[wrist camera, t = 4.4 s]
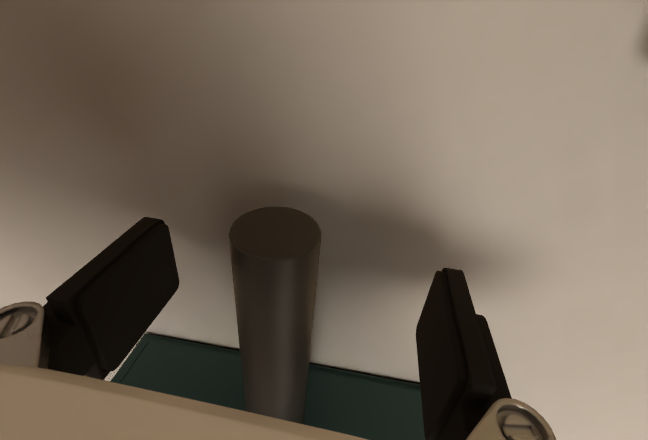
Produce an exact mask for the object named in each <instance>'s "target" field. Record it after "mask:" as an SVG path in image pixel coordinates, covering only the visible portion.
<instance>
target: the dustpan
mask: <svg viewBox="0 0 648 440" xmlns="http://www.w3.org/2000/svg"><path fill="white" fill-rule="evenodd" d="M229 239H230V250H231V261H232V271H233V282H234V292H235V303H236V314H237V324H238V335H239V345H240V351H237V350H231V349H226V348H220V347H215V346H210V345H204V344H199V343H193V342H188V341H183V340H177V339H172V338H167V337H161V336H156V335H150V334H145V335H144V336H143V337H142V339H141V340H140V342H139V343H138V344H137V346H136V347H135V349H134V350H133V351H132V353H131V354H130V355H129V357H128V358H127V360H126V361H125V362H124V364H123V365H122V366H121V368H120V369H119V371H118V372H117V373H116V375H115V376H114V377H113V379H112V380H111V382H114V383H119V384H123V385H128V386H132V387H137V388H142V389H146V390H151V391H156V392H160V393H165V394H169V395H174V396H178V397H183V398H188V399H192V400H197V401H201V402H206V403H210V404H215V405H219V406H224V407H228V408H233V409H237V410H242V411H246V412H251V413H255V414H260V415H264V416H269V417H273V418H277V419H282V420H286V421H290V422H295V423H299V424H304V425H308V426H312V427H317V428H321V429H326V430H330V431H334V432H339V433H343V434H348V435H352V436H356V437H360V438H364V439H368V440H426V439H425V435H424V424H423V413H422V401H421V389H420V385H419V384H414V383H409V382H403V381H398V380H392V379H387V378H382V377H376V376H371V375H366V374H360V373H355V372H349V371H344V370H339V369H333V368H328V367H323V366H317V365H312V364H309V357H310V347H311V337H312V326H313V316H314V305H315V295H316V284H317V274H318V263H319V253H320V242H321V231H320V228H319V226H318V224H317V222H316V221H315V220H314V219H313V218H312V217H310V216H309V215H307V214H305V213H303V212H301V211H298V210H295V209H291V208H285V207H266V208H260V209H256V210H253V211H250V212H248V213H245V214H244V215H242V216H240V217H239V218H238V219H237V220H236V221H235V222H234V223H233V225H232V226H231V229H230V232H229Z"/></svg>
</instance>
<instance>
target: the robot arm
mask: <svg viewBox="0 0 648 440" xmlns="http://www.w3.org/2000/svg"><path fill="white" fill-rule="evenodd" d="M178 286H179V277H178V272H177V267H176V262H175V257H174V252H173V247H172V242H171V237H170V232H169V228H168V226H167V225H166V224H165V223H164V221H163V220H161V219H155V218H149V217H144V218H142V219H141V220H140V221H138V222H137V223H136V224H135V225H134V226H132V227H131V228H130V229H129V230H127V231H126V232H125V233H124V234H123V235H121V236H120V237H119V238H118V239H117V240H115V241H114V242H113V243H112V244H110V245H109V246H108V247H107V248H106V249H104V250H103V251H102V252H101V253H100V254H98V255H97V256H96V257H95V258H93V259H92V260H91V261H90V262H89V263H87V264H86V265H85V266H84V267H83V268H81V269H80V270H79V271H78V272H76V273H75V274H74V275H73V276H72V277H70V278H69V279H68V280H67V281H66V282H64V283H63V284H62V285H61V286H59V287H58V288H57V289H56V290H55V291H53V292H52V293H51V294H50V295H49V296H47V297H46V299H47V301H48V303H47V304H45V305H44V306H43V307H42V306H41V305H40V304H39V303H35V302H20V303H14V304H11V305H8V306H5V307H3V308H1V309H0V440H368V439H364V438H360V437H356V436H352V435H348V434H343V433H339V432H334V431H330V430H326V429H321V428H317V427H312V426H308V425H304V424H299V423H295V422H290V421H286V420H282V419H277V418H273V417H269V416H264V415H260V414H255V413H251V412H246V411H242V410H237V409H233V408H228V407H224V406H219V405H215V404H210V403H206V402H201V401H197V400H192V399H188V398H183V397H178V396H174V395H169V394H165V393H160V392H156V391H151V390H146V389H142V388H137V387H132V386H128V385H123V384H119V383H114V382H109V381H105V380H104V379H105V377H106V376H107V375H108V373H109V372H110V371H114V370H115V369H116V368H117V367H118V366H119V365H120V363H121V362H122V361H123V360H124V358H125V357H126V356H127V354H128V353H129V352H130V350H131V349H132V348H133V347H134V345H135V344H136V343H137V341H138V340H139V339H140V338H141V336H142V335H143V334H144V332H145V331H146V330H147V328H148V327H149V326H150V325H151V323H152V322H153V321H154V319H155V318H156V317H157V315H158V314H159V313H160V312H161V310H162V309H163V308H164V306H165V305H166V304H167V302H168V301H169V300H170V299H171V297H172V296H173V295H174V293H175V292H176V291H177V289H178ZM416 342H417V354H418V366H419V377H420V389H421V401H422V413H423V424H424V435H425V439H426V440H556V438H555V435H554V433H553V431H552V429H551V427H550V426H549V424H548V423H547V422H546V420H545V419H544V418H543V417H542V416H541V415H540V414H539V413H538V412H537V411H536V410H535V409H533V408H532V407H530V406H529V405H527V404H525V403H523V402H521V401H518V400H516V399H512V398H511V395H510V392H509V389H508V386H507V383H506V380H505V376H504V373H503V370H502V367H501V364H500V361H499V358H498V355H497V351H496V348H495V345H494V342H493V339H492V336H491V333H490V330H489V327H488V323H487V321H486V319H485V317H484V316H482V315H477V314H476V313H475V310H474V307H473V303H472V300H471V296H470V293H469V289H468V286H467V283H466V279H465V276H464V273H463V271H462V270H456V269H450V268H443V269H442V271H437V272H436V273H435V276H434V279H433V282H432V284H431V287H430V290H429V293H428V296H427V299H426V302H425V304H424V307H423V310H422V313H421V316H420V319H419V322H418V324H417V329H416ZM85 375H86V377H85Z"/></svg>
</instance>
